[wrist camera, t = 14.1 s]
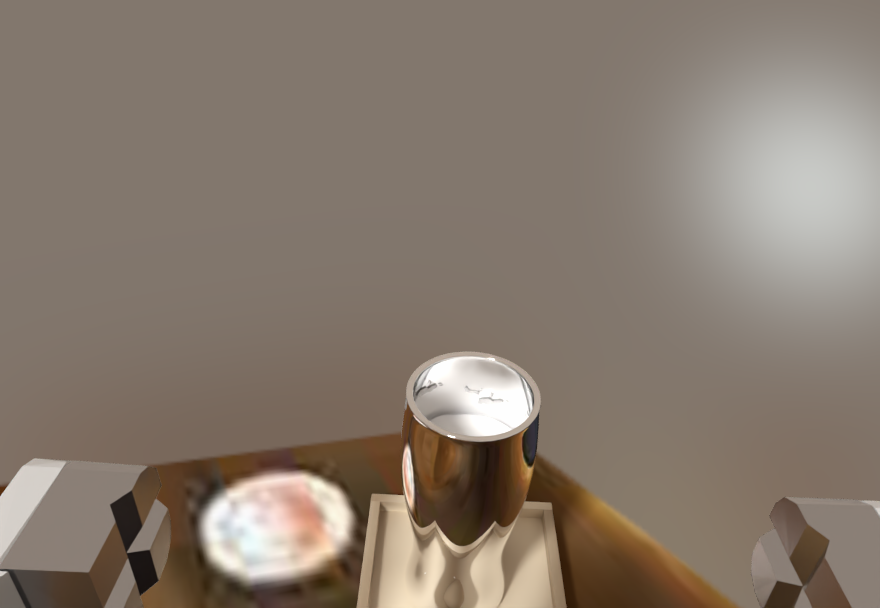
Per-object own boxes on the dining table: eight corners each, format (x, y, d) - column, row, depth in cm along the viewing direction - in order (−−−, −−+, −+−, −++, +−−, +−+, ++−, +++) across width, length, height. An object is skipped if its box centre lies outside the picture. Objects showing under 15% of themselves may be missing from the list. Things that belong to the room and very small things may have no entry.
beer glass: (400, 530, 44) (405, 345, 36) (507, 534, 44) (537, 351, 36) (393, 633, 38) (397, 441, 30) (516, 637, 38) (554, 447, 30)
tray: (351, 671, 37) (350, 656, 36) (372, 508, 46) (371, 493, 45) (570, 681, 37) (575, 666, 36) (548, 517, 46) (551, 502, 45)
